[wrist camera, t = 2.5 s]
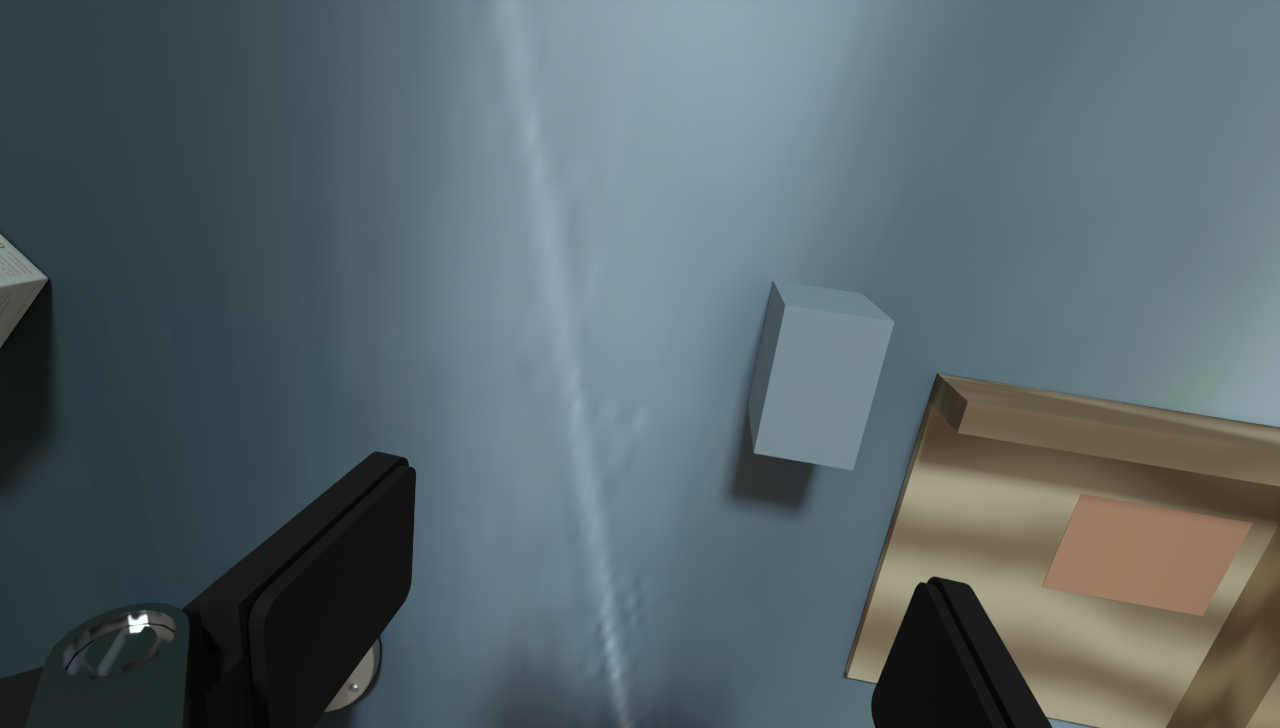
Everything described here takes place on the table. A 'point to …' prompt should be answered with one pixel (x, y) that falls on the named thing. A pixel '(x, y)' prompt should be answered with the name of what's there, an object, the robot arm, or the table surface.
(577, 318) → the table surface
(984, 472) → the wooden tray
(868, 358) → the grey block
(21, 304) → the small box
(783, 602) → the table surface
